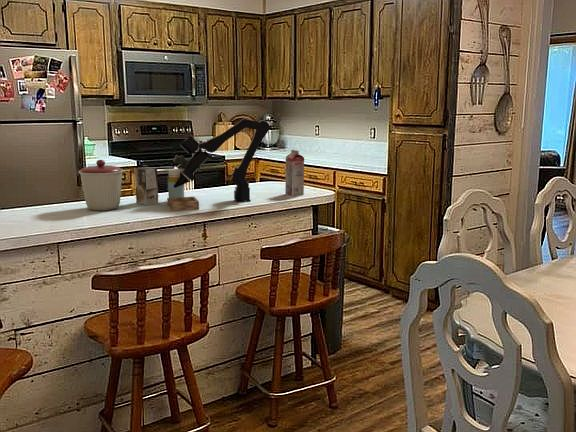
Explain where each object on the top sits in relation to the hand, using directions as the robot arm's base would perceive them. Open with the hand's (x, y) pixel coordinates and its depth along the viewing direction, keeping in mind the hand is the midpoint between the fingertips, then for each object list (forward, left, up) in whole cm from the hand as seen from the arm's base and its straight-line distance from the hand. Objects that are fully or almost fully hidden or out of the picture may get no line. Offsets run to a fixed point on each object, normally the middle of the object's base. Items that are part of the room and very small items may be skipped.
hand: (173, 185), depth 255 cm
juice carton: (-60, -5, -8) cm, 61 cm away
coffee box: (+12, -1, -8) cm, 14 cm away
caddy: (-2, +13, -8) cm, 15 cm away
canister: (+31, +6, -8) cm, 32 cm away
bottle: (-1, 0, -8) cm, 8 cm away
